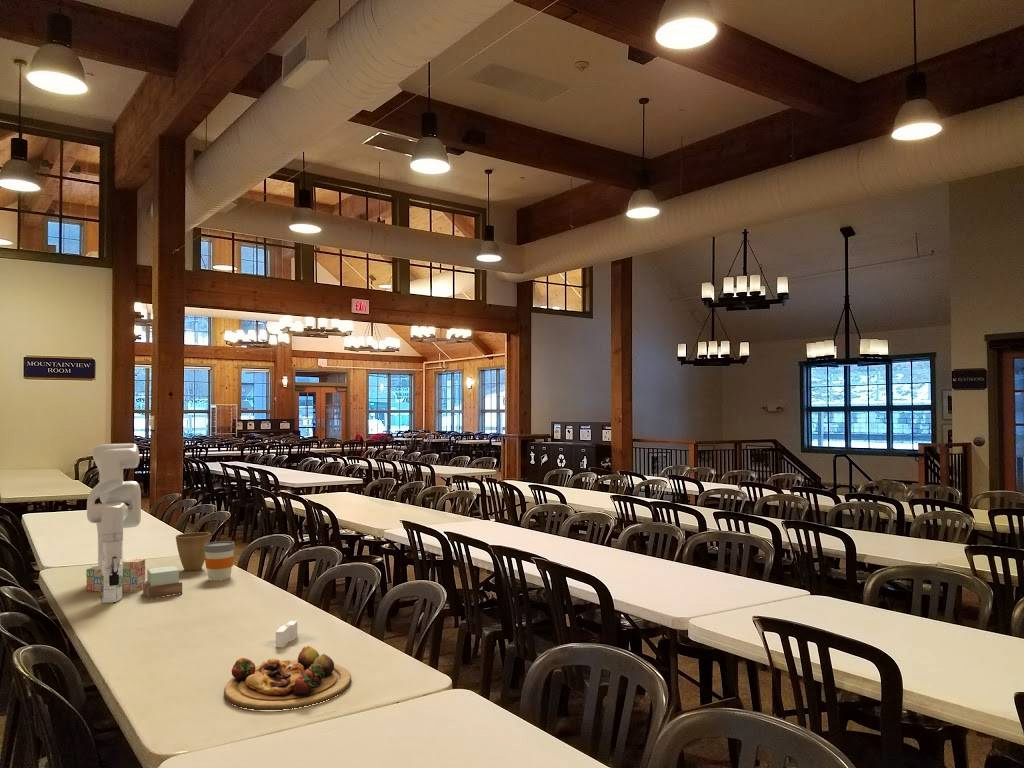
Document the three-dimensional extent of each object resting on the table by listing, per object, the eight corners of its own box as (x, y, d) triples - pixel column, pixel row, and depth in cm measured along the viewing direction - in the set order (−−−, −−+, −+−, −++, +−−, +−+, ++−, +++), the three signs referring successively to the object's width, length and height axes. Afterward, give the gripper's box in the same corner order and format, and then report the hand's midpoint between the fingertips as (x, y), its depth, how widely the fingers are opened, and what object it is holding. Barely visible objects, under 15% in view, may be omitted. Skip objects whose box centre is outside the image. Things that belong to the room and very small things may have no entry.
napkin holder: (279, 652, 224) (279, 633, 225) (257, 645, 231) (257, 627, 231) (319, 640, 236) (319, 621, 237) (297, 633, 243) (297, 616, 243)
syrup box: (107, 599, 289) (107, 562, 290) (123, 599, 290) (123, 561, 290) (100, 603, 283) (100, 565, 284) (116, 602, 284) (116, 564, 284)
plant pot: (213, 569, 341) (213, 534, 341) (178, 574, 332) (178, 538, 333) (206, 564, 353) (206, 530, 353) (172, 568, 345) (172, 534, 345)
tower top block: (147, 581, 299) (147, 569, 299) (174, 578, 305) (174, 565, 305) (151, 586, 291) (151, 573, 291) (178, 582, 296) (178, 570, 297)
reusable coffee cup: (197, 580, 320) (197, 545, 321) (219, 574, 332) (219, 540, 332) (220, 582, 316) (220, 547, 316) (241, 576, 327) (241, 541, 328)
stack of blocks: (85, 592, 302) (86, 561, 303) (95, 588, 309) (95, 558, 309) (137, 591, 302) (137, 561, 302) (145, 588, 308) (145, 558, 308)
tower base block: (142, 594, 299) (143, 581, 299) (174, 589, 306) (174, 577, 306) (149, 600, 289) (149, 587, 289) (182, 595, 297) (182, 582, 297)
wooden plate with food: (195, 703, 186) (195, 670, 186) (278, 660, 216) (278, 632, 216) (301, 724, 174) (301, 688, 175) (373, 676, 204) (373, 645, 204)
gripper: (97, 535, 292) (97, 580, 291) (105, 541, 278) (105, 589, 278) (118, 533, 297) (118, 578, 296) (127, 539, 283) (127, 585, 282)
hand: (112, 583), depth 287 cm, fingers closed on syrup box, 7 cm apart
